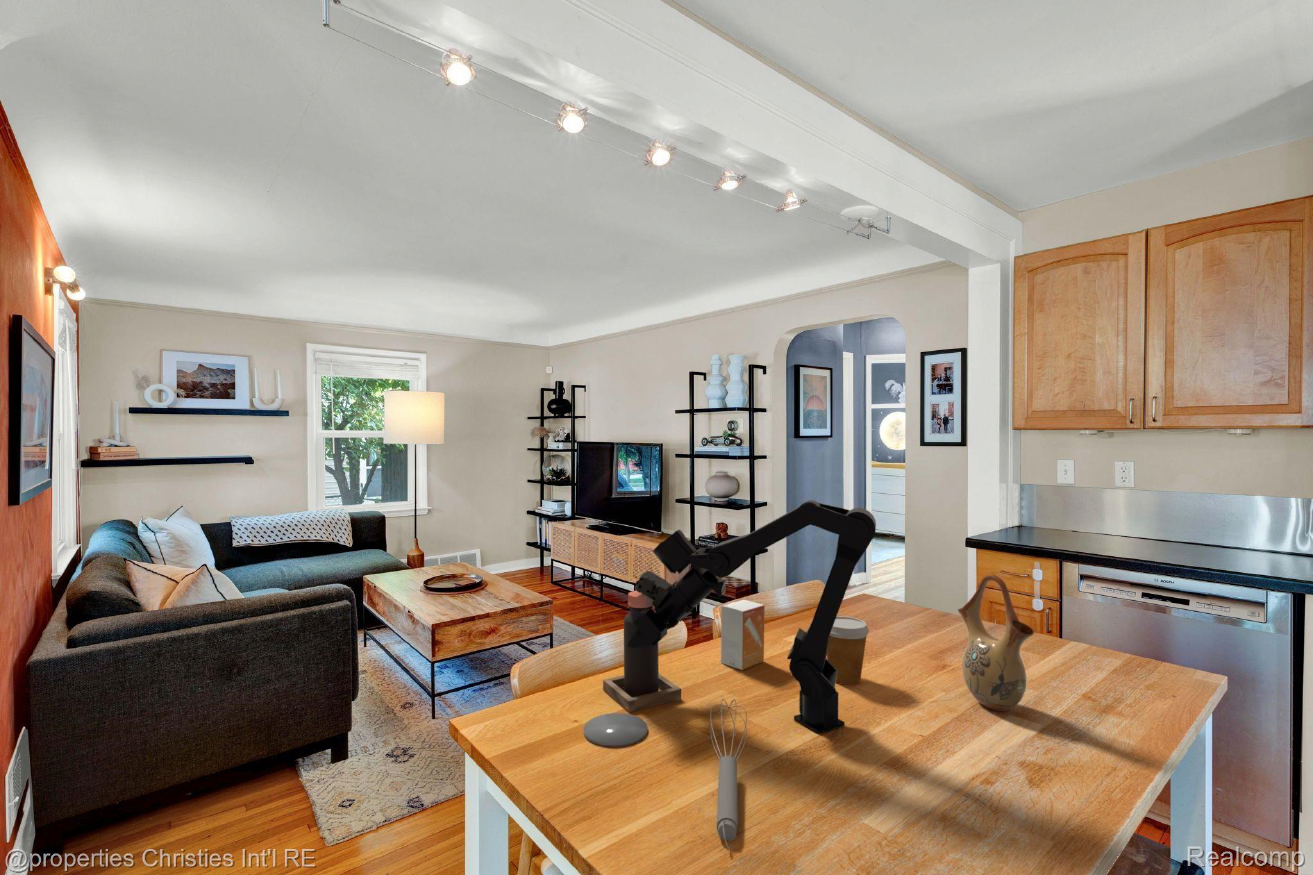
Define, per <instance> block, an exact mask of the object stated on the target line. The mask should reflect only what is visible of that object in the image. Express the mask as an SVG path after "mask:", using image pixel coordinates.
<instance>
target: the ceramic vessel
mask: <svg viewBox="0 0 1313 875" xmlns="http://www.w3.org/2000/svg"><path fill="white" fill-rule="evenodd" d="M989 581H992V582H995V583H996V584H997V585H998V586H999V589H1000V591H1001V594H1002V598H1003V602H1004V608H1005V609H1004V610H1005V618H1006V621H1005V623H1006V624H1005V632H1004V635H1003V637H1002V638H1001V639H998V638H995V637H993V636H992V635H991V634H989V632H988V631H987V630H986V627H985V626H984V623H983V621H982V618H981V608H982V602H983V598H984V593H985V590H986V587H987V584H988V583H989ZM957 611H958V613H959V614H960V616H961V617H962V619H963V621H964V623H965V624H966V628H967V631H968V632H967V634H968V643H967V645H966V648H965V649H964V653H963V655H962V661H961V662H962V664H961V666H962V676H963V679H964V681H965V684H966V688H968V690H969V692H970V693H971V695H972V696H973V698H974V699H975V700H976V701H978V703H979V704H980V705H982V706H983V707H985V708H987V709H990V710H993V711H997V712H1006V711H1009V710H1011V709H1014V708H1015V707H1016V706H1017V705H1018V704H1019V703H1020V702H1021V700H1022V699H1023V697H1024V695H1025V693H1026V688H1027V673H1026V668H1025V665H1024V662H1023V660H1022V657H1021V654H1020V652H1021V648H1022V645H1023V643H1024V642H1025V641H1026V640H1028V639H1029V638H1031V637H1032V636H1033V635H1034V633H1035V632H1034V629H1033V628H1032V627H1031V626H1029V625H1028V624H1026V623H1025V622H1022V621H1020V620H1019V618H1018V615H1017V614H1016V611H1015V609H1014V606H1013V603H1012V600H1011V596H1010V592H1009V589H1008V587H1007V584H1006V583H1005V581H1004V580H1003V579H1002V578H1001V577H999V576H998V575H996V574H987V575H985V576H983V578H982V579H981V580H980V583H979V585H978V587H977V589H976V591H975V592H974V594H973V595H972V597H971V598H970V599H969V601H967V602H966V603H965V604H964V606H962V607H959V608H958V609H957Z"/></svg>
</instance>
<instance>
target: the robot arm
mask: <svg viewBox="0 0 1313 875" xmlns="http://www.w3.org/2000/svg"><path fill="white" fill-rule="evenodd" d="M876 522H877V521H876V519H875V517H874V515H873V514H872V513H871V512H870V510H867V509H866V508H862V507H856V508H852V509H846V508H843V507H839V506H833V505H830V504H824V503H821V502H818V501H816V500H814V499H813V500H811V499H810V500H806V501H804V502H803V503H802V504H800V505H799V506H798V507H796V508H794V509H792V510H790V511H788V512H786V513H784V514H783V515H781V516H779V517H777V518H776V519H774V520H772V521H770V522H768V523H766V524H764V525H763V526H761V527H759V528H757V529H755V530H754V531H752V532H750V533H747V534H744V535H739V536H737V537H734V538H730V539H727V540H725V541H721V542H720V543H717V544H716V545H715V546H713V547H702V548H701V547H700V548H699V549H696V547H695V546H694V545H693V544H692V543H691V542H690V541H689V539H687V537H686V535H685V534H684V532H683V531H682V530H681V529H677V530H675V531H674V532H673V533H672V534H671V535H669V536H668V537H667V538H665V539H664V540H663V541H661V542H660V543H659V544H658V545H657V546H656V547H655V548H654V549H653V550H652V553H653V554H654V555H655V557H656V558H657V559H658V560H659V561H660V562H661V564H663V566H664V567H665V568H666V569H667V570H668V572H670V574H674V575H675V574H676V573H677V574H678V575H681V574H682V573H683V572H685V571H686V570H687V568H689V567H690V566H692V567H691V568H690V569H689V570H688V571H687V572H686V573H685V574H684V575H683V576H682V577H681V578H679V579H678V581H675V582H673V584H671V583H670V582H668V581H667V580H666V579H665V578H663V577H661V576H659V575H658V574H656V573H654V572H652V571H650V570H647V571H645V572H643V573H641V574H640V577H639V579H638V580H636V581H635V587H634V591H638V592H639V593H640V592H641V593H642V594H644V595H646V596H648V597H649V598H651V599H653V602H652V604H653V607H654V610H653V608H652V609H650V608H645V609H643V610H642V611H641V612H639V613H638V614H637V615H636V616H635V617H634V618H633V619H632V620H633V623H634V624H635V625H636V627H637V629H636V631H635V633H634V634H633V636H632V638H631V639H630V641H629V642H628V644H627V646H628V648H629V647H630V646H631V647H632V648H637V647H641V646H644V645H648V644H652V645H654V646H655V645H656V644H657V643H658V644H659V642H660V641H661V640H662V639H664V638H665V637H666V636H667V635H668V630H670V629H673V628H675V627H676V626H677V625H678V624H679V622H680V623H682V621H684V619H686V618H687V617H688V616H689V615H690V614H691V612H692V610H694V608H696V607H697V606H698V605H699V604H700V603H701V602H702V601H703V600H704V599H705V598H707V596H709V595H710V594H711V593H713V592H714V594H716V595H717V596H718V597H722V596H723V595H724V594H725V593H726V592H727V589H726V583H727V580H726V579H722V578H726V577H728V576H730V575H731V574H732V573H734V572H735V571H736V570H737V569H738V568H740V567H741V566H742V565H744V564H745V563H746V562H748V560H750V559H751V558H753V556H755V555H756V554H757V553H759V552H761V551H763V550H765V549H766V548H769V547H771V546H773V545H774V544H777V543H778V542H780V541H781V540H784V539H785V538H787V537H790V536H791V535H792V534H795V533H797V532H799V531H800V530H802V529H804V528H806V527H809V526H814V527H817V528H819V529H822V530H825V531H827V532H829V533H832V534H835V535H838V537H837V538H838V539H837V545H836V553H835V558H834V561H833V564H832V567H831V568H830V572H829V575H828V576H827V580H826V582H825V585H824V588H823V591H822V594H821V596H820V599H819V600H818V601H819V602H818V604H817V607H816V610H815V612H814V615H813V618H812V620H811V622H810V625H809V626H808V628H807V629H806V631H805V630H803V629H802V628H800V627H799V628H798V630H797V633H796V634H795V636H794V641H793V645H792V646H791V648H790V651H789V652H788V655H787V657H786V658H787V660H790V662H789V666H788V667H789V671H790V674H791V676H792V677H793V679H795V681H797V682H798V684H799V688H800V690H799V700H798V702H799V706H798V707H799V712H798V713H800V714H796V715H793V719H794V720H795V721H796V722H798V723H800V724H801V725H803V726H805V727H806V728H808V729H810V730H812V731H813V732H815V733H816V734H823V733H825V732H829V731H832V730H836V729H838V728H842V727H844V726H845V725H846V722H845V721H843V720H842V719H840V718H839V692H838V691H837V689H836V685H837V684H836V678H837V673H838V671H837V670H836V668H835V667H834V666H833V665H832V664H831V663H830V662H829V661H828V660H827V650H828V644H829V637H830V633H831V630H832V627H833V624H834V622H835V619H836V616H838V614H839V612H840V608H841V604H842V603H843V601H844V597H845V596H846V592H847V590H848V586H849V584H850V581H851V579H852V576H853V574H854V571H855V568H856V566H857V564H858V563H859V561H860V560H861V559H862V557H863V555H864V553H865V552H866V551H867V549H868V547H869V545H871V542H873V539H874V538H875V535H876V530H877V523H876Z"/></svg>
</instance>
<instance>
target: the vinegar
mask: <svg viewBox="0 0 1313 875" xmlns="http://www.w3.org/2000/svg"><path fill="white" fill-rule="evenodd" d="M627 596H628V597H627V598H628V599H627V604H628V609H629V612H628V613H627V614H626V615H625V617H624V618H623V674H624V675H623V676H624V688H623V691H624V692H626V693H627V694H628V695H629V696H630V697H636V696H641V695H645V694H649V693H653V692H658V691H660V689H659V674H660V673H659V642H658V643H657V644H656V645H655V646H654V645H652V644H648V645H644V646H641V647H637V648H632V647H631V646H630V647H629V648H628V646H627V644H628V642H629V641H630V639H631V638H632V636H633V634H634V633H635V631H636V629H637V627H636V625H635V624H634V623H633V620H632V619H633V618H634V617H635V616H636V615H637V614H638V613H639V612H641V611H642V610H643V609H645V608H650V609H652V610H653V607H654V606H653V604H652V602H653V601H654V600H653V599H651V598H649V597H648V596H646V595H644V594H642V593H641V592H640V593H639V592H638V591H636V590H633V591H630V592H628V593H627Z"/></svg>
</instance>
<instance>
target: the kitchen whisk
mask: <svg viewBox="0 0 1313 875" xmlns="http://www.w3.org/2000/svg"><path fill="white" fill-rule="evenodd" d="M723 701H724V702H725V705H724V704H723ZM734 701H735V704H737V701H736V699H735V698H733V699H732V701H731V702H730V703H729V705H728V703H727V701H726V700H725V699H724V698H722V699H721V702H720V711H719V712H718V713H717V714H715V715H714V717H713V718H712V713H710V715H709V717H710V727H711V728H710V730H709V731H710V737H711V743H712V746H713V748H714V751H715V753H716V755H717V757H718V759H719V763H718V780H717V782H718V785H717V786H718V788H717V811H716V812H717V813H716V815H717V816H716V831H717V834H718V836H719V838H720V839H721V840H722V841H724V840H725V845H726V847H727V848H728V850H730V849H731V848H730V846H729V844H728V841H726V840H731V841H733V840H735V839H736V837H737V832H738V830H739V827H738V824H739V820H738V818H739V817H738V815H739V814H738V813H739V812H738V764H737V761H738V759H739V757H740V755H741V753H742V752H743V749H744V747H745V744H746V741H747V735H748V730H747V722H748V721H747V720H748V719H747V717H748V714H747V711H746V709H745V708H744V707H743V706H740V705H734V706H731V705H732V703H733V702H734ZM716 706H717V704H715V705H713V706H712V707H711V710H710V712H712V711H713V709H714V708H715V707H716ZM722 706H723V707H725V708H724V709H722V708H723V707H722ZM733 708H742V710H744V712H745V719H744V718H743V717H742V715H741V713H739V712H737V710H736V709H735V710H734V709H733ZM724 711H726V713H725V716H724V719H723V712H724ZM731 711H734V712H735V714H734V718H733V715H732V713H731ZM728 712H729V714H730V717H731V720H732V723H733V731H732V732H733V734H732V742H731V747H730V748H731V749H730V753H729V755H727V752H726V743H725V736H724V735H725V734H724V733H725V732H724V724H725V720H726V717H727V714H728ZM719 714H720V716H721V717H720V718H721V721H722V722H721V732H720V736H722V739H723V747H724V748H723V749H724V756H723V749H722V750H720V748H719V746H718V742H717V739H716V734H715V732H714V728H713V723H714V722H713V721H714V720H715V718H716V717H717V715H719ZM737 715H738V716H739V717H740V718H741V720H742V721H743V722H744V730H743V733H742V736H741V739H740V742H739V744H738V747H737V750H736V751H735V752H734V751H733V745H734V738H735V737H737V734H736V733H737V732H736V720H737V719H736V718H737ZM712 733H713V735H712ZM744 735H745V738H744ZM713 737H714V740H715V743H716V744H714V741H713ZM743 738H744V743H743V745H742V747H741V744H742V742H743ZM715 745H716V746H715ZM716 748H717V749H718V751H717V749H716ZM740 748H741V750H740ZM739 750H740V752H739ZM721 751H722V752H721ZM718 752H719V754H718ZM732 752H734V753H733V756H732ZM738 752H739V753H738ZM737 754H738V756H737ZM719 755H720V756H719ZM731 841H730V842H731Z"/></svg>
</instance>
